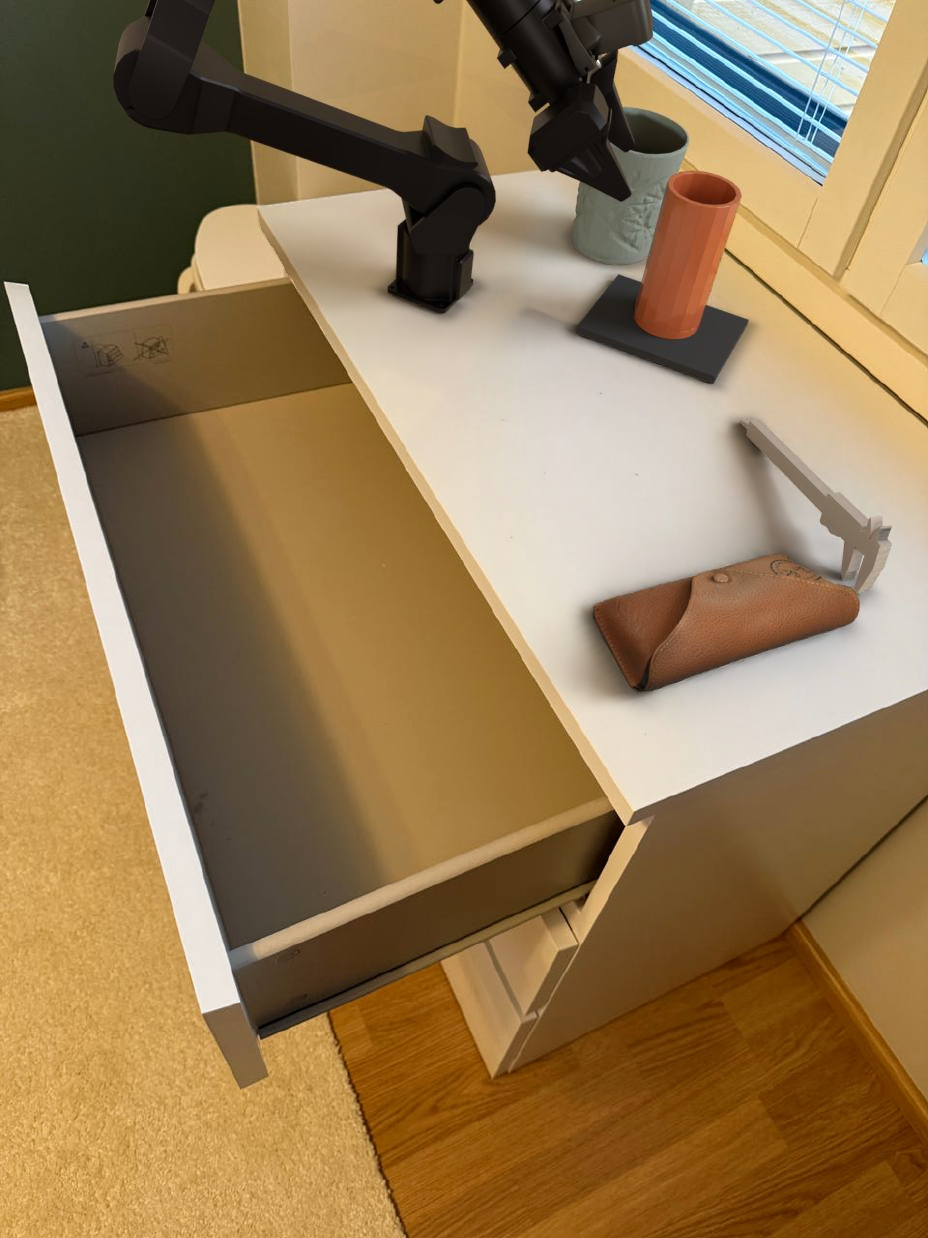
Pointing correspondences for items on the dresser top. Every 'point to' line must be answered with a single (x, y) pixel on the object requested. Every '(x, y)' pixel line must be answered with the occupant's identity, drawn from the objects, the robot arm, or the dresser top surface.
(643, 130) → the green ceramic pot
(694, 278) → the crock
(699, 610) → the sunglasses case
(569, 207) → the dresser top surface
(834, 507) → the caliper
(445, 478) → the dresser top surface
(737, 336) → the mat
